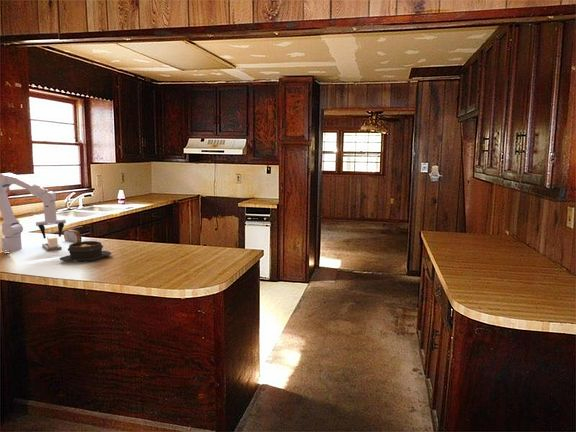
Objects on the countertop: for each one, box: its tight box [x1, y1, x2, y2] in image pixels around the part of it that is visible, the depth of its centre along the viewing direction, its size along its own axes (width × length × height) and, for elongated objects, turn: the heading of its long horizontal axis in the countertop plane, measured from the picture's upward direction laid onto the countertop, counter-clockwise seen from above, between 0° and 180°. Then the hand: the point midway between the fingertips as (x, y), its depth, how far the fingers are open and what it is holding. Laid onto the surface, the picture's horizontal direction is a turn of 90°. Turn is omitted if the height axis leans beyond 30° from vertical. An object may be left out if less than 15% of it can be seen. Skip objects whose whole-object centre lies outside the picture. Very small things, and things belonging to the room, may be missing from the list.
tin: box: [63, 228, 83, 243], centre depth 265 cm, size 15×3×8 cm, turn 58°
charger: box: [47, 236, 59, 248], centre depth 243 cm, size 4×5×7 cm
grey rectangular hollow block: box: [41, 242, 63, 252], centre depth 246 cm, size 7×15×4 cm, turn 39°
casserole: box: [59, 240, 112, 263], centre depth 227 cm, size 25×19×8 cm
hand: (52, 237), depth 243 cm, fingers open, 7 cm apart
